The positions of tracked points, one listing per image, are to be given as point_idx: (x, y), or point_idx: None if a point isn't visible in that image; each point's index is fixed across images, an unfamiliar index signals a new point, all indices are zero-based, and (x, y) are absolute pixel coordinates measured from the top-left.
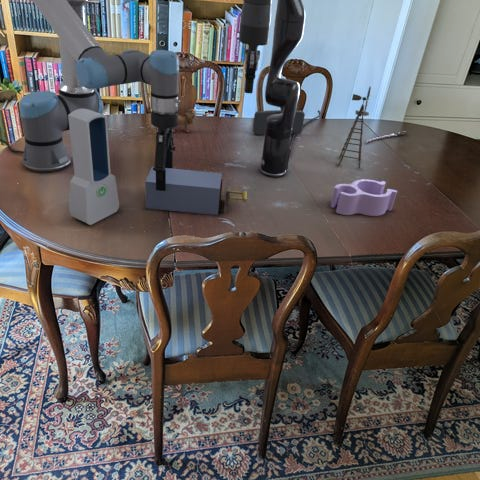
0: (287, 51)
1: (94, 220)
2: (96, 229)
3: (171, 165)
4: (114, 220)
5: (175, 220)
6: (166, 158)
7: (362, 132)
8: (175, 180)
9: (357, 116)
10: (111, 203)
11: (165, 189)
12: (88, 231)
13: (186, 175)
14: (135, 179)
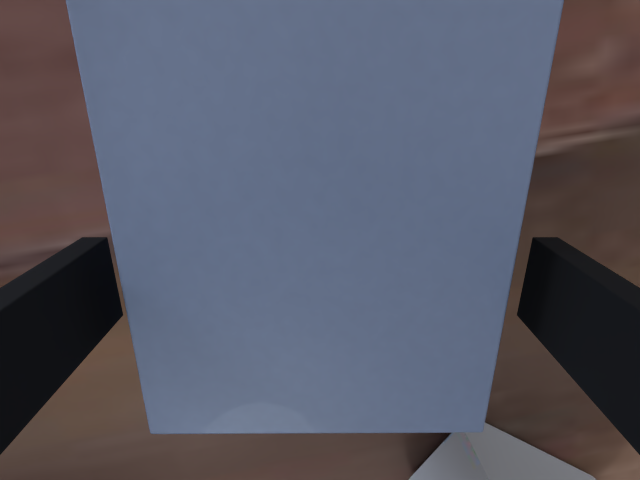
0: None
1: (581, 478)
2: (620, 448)
3: (67, 275)
4: (544, 404)
5: (551, 105)
6: (22, 384)
7: None
8: (428, 170)
9: None
10: (518, 478)
11: (553, 241)
12: (634, 468)
13: (255, 46)
14: (91, 403)
